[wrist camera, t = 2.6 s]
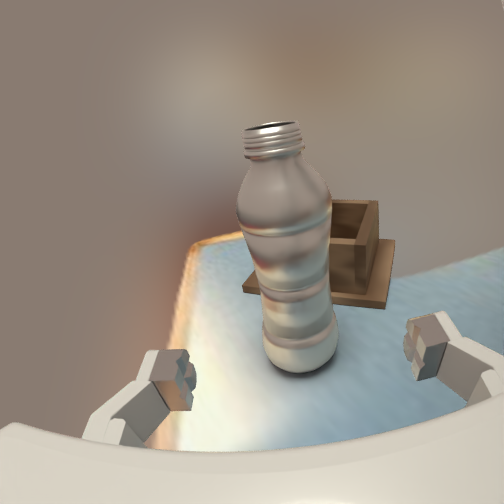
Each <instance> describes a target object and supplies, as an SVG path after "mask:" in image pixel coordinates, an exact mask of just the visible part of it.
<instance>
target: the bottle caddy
mask: <svg viewBox="0 0 504 504" xmlns="http://www.w3.org/2000/svg"><path fill="white" fill-rule="evenodd" d="M394 249H395V240H388V239H379V215H378V201H370V200H332V216H331V230H330V242H329V282H330V289H331V296H332V303H333V304H340V305H349V306H358V307H368V308H377V309H385V306H386V300H387V295H388V289H389V283H390V277H391V271H392V264H393V257H394ZM242 288H243V292H246V293H253V294H260V295H261V291H260V287H259V283H258V278H257V275H256V272H255V270H254V271H253V273H252V274H251V275H250V276H249V278H248V279H247V280H246V281H245V282H244V284H243V285H242Z"/></svg>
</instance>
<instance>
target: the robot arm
mask: <svg viewBox="0 0 504 504" xmlns="http://www.w3.org/2000/svg"><path fill="white" fill-rule="evenodd" d="M502 6H503V9H504V0H502ZM406 329H407V331H408V332H407V334H406V335H405V336H404V342H403V346H404V353H405V356H406V358H407V360H408V361H410V362H411V363H412V366H411V370H412V372H413V374H414V377H415V379H416V381H420V380H424V379H428V378H432V377H436V376H437V377H436V378H438V379H439V380H440V381H441V382H443V383H444V384H445V385H447V386H448V387H449V388H450V389H452V390H453V391H454V392H456V393H457V394H458V395H459V396H461V397H462V398H463V399H465V400H466V401H467V404H466V406H465V408H463V409H460V410H458V411H455V412H452V413H449V414H446V415H443V416H440V417H437V418H434V419H431V420H428V421H424V422H421V423H418V424H414V425H411V426H407V427H403V428H400V429H396V430H392V431H388V432H384V433H379V434H375V435H371V436H366V437H361V438H356V439H351V440H345V441H340V442H334V443H327V444H320V445H313V446H305V447H296V448H287V449H275V450H261V451H238V452H196V451H174V450H160V449H148V448H147V446H146V445H145V444H144V442H145V441H146V440H147V439H148V438H149V436H150V435H151V434H152V433H153V432H154V431H155V429H156V428H157V427H158V426H159V425H160V424H161V422H162V421H163V420H164V419H165V418H166V417H167V415H168V414H169V413H170V411H191V408H192V403H193V398H194V397H193V395H192V393H191V392H192V391H193V390H194V389H195V388H196V382H197V381H196V371H195V368H194V365H193V364H192V363H190V362H189V357H190V356H189V354H188V352H187V350H185V349H174V350H149V351H147V352H146V354H145V357H144V360H143V362H142V365H141V367H140V370H139V373H138V375H137V378H136V381H132V382H131V383H129V384H128V385H127V386H126V387H124V388H123V389H122V390H121V391H119V392H118V393H117V394H116V395H115V396H113V397H112V398H111V399H110V400H108V401H107V402H106V403H105V404H104V405H102V406H101V407H100V408H99V409H97V410H96V411H95V412H94V413H93V414H91V416H90V419H89V421H88V424H87V426H86V429H85V431H84V434H83V436H82V439H80V438H76V437H71V436H67V435H62V434H58V433H54V432H50V431H46V430H42V429H38V428H35V427H31V426H28V425H25V424H22V423H17V422H14V423H11V424H9V425H7V426H5V427H4V428H2V429H1V430H0V504H504V356H502V355H501V354H499V353H497V352H495V351H493V350H491V349H489V348H487V347H485V346H483V345H481V344H479V343H477V342H475V341H473V340H471V339H469V338H467V337H462V336H461V334H460V333H459V331H458V330H457V328H456V327H455V325H454V324H453V322H452V321H451V319H450V318H449V316H448V315H447V313H446V312H445V311H440V312H436V313H432V314H428V315H424V316H420V317H415V318H411V319H408V321H407V324H406Z"/></svg>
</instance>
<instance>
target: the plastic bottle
mask: <svg viewBox="0 0 504 504" xmlns="http://www.w3.org/2000/svg"><path fill="white" fill-rule="evenodd" d="M242 139H243V143H244V148H245V150H244V156H245V158H246V159H250V161H251V167H250V169H249V171H248V173H247V175H246V177H245V179H244V181H243V183H242V186H241V188H240V192H239V194H238V197H237V205H236V214H237V217H238V221H239V224H240V227H241V230H242V232H243V235H244V238H245V240H246V243H247V246H248V249H249V251H250V254H251V257H252V260H253V264H254V268H255V272H256V275H257V278H258V283H259V287H260V291H261V302H262V313H263V326H262V338H263V346H264V349H265V351H266V353H267V355H268V357H269V359H270V360H271V362H272V363H273V364H274V365H275V366H277V367H279V368H281V369H283V370H285V371H288V372H293V373H304V372H309V371H313V370H315V369H317V368H319V367H321V366H322V365H323V364H325V363H326V362H327V361H328V360H329V359H330V358H331V357H332V355H333V354H334V352H335V349H336V346H337V341H338V337H339V330H338V325H337V320H336V316H335V313H334V310H333V303H332V296H331V289H330V282H329V242H330V230H331V216H332V196H331V194H330V191H329V189H328V186H327V184H326V182H325V181H324V180H323V179H322V178H321V176H320V175H319V174H318V173H317V171H316V170H315V169H314V168H313V167H312V166H311V165H310V164H309V163H308V162H307V161H306V160H304V159H303V157H302V154H301V151H302V150H304V149H305V144H304V141H302V136H301V130H300V124H299V122H298V121H282V122H274V123H267V124H262V125H257V126H252V127H249V128H245V129H243V130H242Z"/></svg>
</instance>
